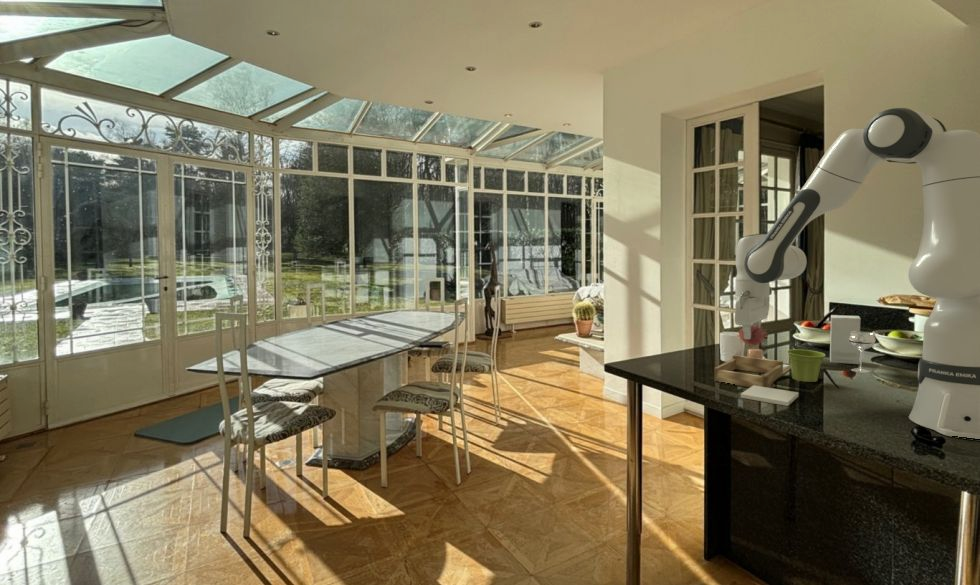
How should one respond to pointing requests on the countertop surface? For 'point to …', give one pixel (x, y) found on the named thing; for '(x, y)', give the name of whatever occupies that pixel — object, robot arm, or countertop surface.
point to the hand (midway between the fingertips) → (751, 337)
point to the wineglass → (861, 344)
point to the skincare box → (843, 339)
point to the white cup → (730, 345)
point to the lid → (786, 367)
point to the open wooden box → (766, 366)
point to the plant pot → (805, 364)
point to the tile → (770, 395)
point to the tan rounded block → (755, 353)
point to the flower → (753, 336)
